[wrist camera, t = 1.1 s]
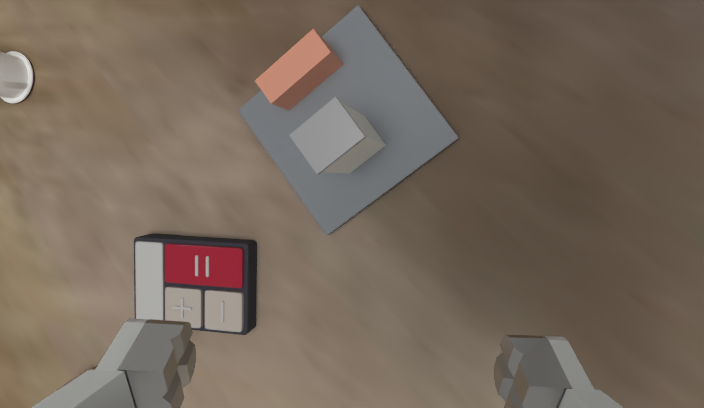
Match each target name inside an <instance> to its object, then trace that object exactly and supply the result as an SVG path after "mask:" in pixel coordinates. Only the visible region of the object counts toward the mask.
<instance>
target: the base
mask: <svg viewBox="0 0 704 408" xmlns="http://www.w3.org/2000/svg"><path fill="white" fill-rule="evenodd" d="M255 82H256V83H257V85H258V86H259V88H260V89H261V91H260V92H258V93H257V94H256V95H255V96H254V97H253V98H252V99H251V100H249V101H248V102H247V103H246V104H245V105H244V106H243V107H241V108H240V109H239V110H238V111H239V113H240V114H241V115H242V117H243V118H244V120H245V121H246V123H247V124H248V125H249V127H250V128H251V130H252V131H253V132H254V134H255V135H256V137H257V138H258V140H259V141H260V142H261V144H262V145H263V147H264V148H265V149H266V151H267V152H268V154H269V155H270V157H271V158H272V159H273V161H274V162H275V164H276V165H277V166H278V168H279V169H280V171H281V172H282V173H283V175H284V176H285V178H286V179H287V181H288V182H289V183H290V185H291V186H292V188H293V189H294V190H295V192H296V193H297V195H298V196H299V198H300V199H301V200H302V202H303V203H304V205H305V206H306V207H307V209H308V210H309V212H310V213H311V215H312V216H313V217H314V219H315V220H316V222H317V223H318V224H319V226H320V227H321V229H322V230H323V231H324V233H325V234H326V236H327V235H329V234H331V233H332V232H334V231H335V230H336V229H338V228H339V227H340V226H342V225H343V224H345V223H346V222H347V221H349V220H350V219H351V218H353V217H354V216H355V215H357V214H358V213H359V212H361V211H362V210H363V209H365V208H366V207H367V206H369V205H370V204H371V203H373V202H374V201H376V200H377V199H378V198H380V197H381V196H382V195H384V194H385V193H386V192H388V191H389V190H390V189H392V188H393V187H394V186H396V185H397V184H398V183H400V182H401V181H402V180H404V179H405V178H407V177H408V176H409V175H411V174H412V173H413V172H415V171H416V170H417V169H419V168H420V167H421V166H423V165H424V164H425V163H427V162H428V161H429V160H431V159H432V158H434V157H435V156H436V155H438V154H439V153H440V152H442V151H443V150H444V149H446V148H447V147H448V146H450V145H451V144H452V143H454V142H455V141H456V140H458V139H459V138H458V136H457V135H456V134H455V132H454V131H453V130H452V128H451V127H450V126H449V124H448V123H447V122H446V120H445V119H444V118H443V116H442V115H441V114H440V112H439V111H438V110H437V109H436V107H435V106H434V105H433V103H432V102H431V101H430V99H429V98H428V97H427V95H426V94H425V93H424V91H423V90H422V89H421V87H420V86H419V85H418V83H417V82H416V81H415V79H414V78H413V77H412V76H411V74H410V73H409V72H408V70H407V69H406V68H405V66H404V65H403V64H402V62H401V61H400V60H399V58H398V57H397V56H396V54H395V53H394V52H393V50H392V49H391V48H390V46H389V45H388V44H387V42H386V41H385V40H384V39H383V37H382V36H381V35H380V33H379V32H378V31H377V29H376V28H375V27H374V25H373V24H372V23H371V21H370V20H369V19H368V17H367V16H366V15H365V13H364V12H363V11H362V9H361V8H360V7H359V6H358V5H357V6H356V7H355V8H354V9H353V10H352V11H351V12H349V13H348V14H347V15H346V16H345V17H344V18H343V19H342V20H340V21H339V22H338V23H337V24H336V25H335V26H334V27H332V28H331V29H330V30H329V31H328V32H327V33H326V34H324V35H323V36H322V37H321V36H320V35H319V34H318V33H317V32H316V31H315V30H314V29H312V30H311V31H310V32H309V33H308V34H307V35H306V36H304V37H303V38H302V39H301V40H300V41H299V42H298V43H297V44H296V45H294V46H293V47H292V48H291V49H290V50H289V51H288V52H287V53H285V54H284V55H283V56H282V57H281V58H280V59H279V60H278V61H276V62H275V63H274V64H273V65H272V66H271V67H270V68H269V69H267V70H266V71H265V72H264V73H263V74H262V75H261V76H260V77H258V78H257V79H256V80H255ZM334 97H337V98H338V99H339V101H341V102H342V103H344V104H345V105H347V106H349V107H350V108H352V109H354V110H355V111H357V112H359V113H360V114H362V115H364V116H365V117H366V119H367V120H368V121H369V123H370V124H371V126H372V127H373V128H374V130H375V131H376V132H377V134H378V135H379V136H380V138H381V139H382V140H383V142H384V143H385V144H386V146H385V147H383V148H382V149H381V150H379V151H378V152H377V153H376V154H374V155H373V156H372V157H370V158H369V159H368V160H366V161H365V162H364V163H363V164H361V165H360V166H359V167H357V168H356V169H355V170H354V171H352V172H351V173H320V174H316V172H315V171H314V169H313V168H312V167H311V165H310V164H309V162H308V161H307V160H306V158H305V157H304V155H303V154H302V153H301V151H300V150H299V148H298V147H297V146H296V144H295V143H294V141H293V140H292V139H291V137H290V136H289V135H290V134H291V133H292V132H294V131H295V130H296V129H297V128H298V127H300V126H301V125H302V124H303V123H304V122H306V121H307V120H308V119H309V118H310V117H312V116H313V115H314V114H315V113H316V112H318V111H319V110H320V109H321V108H322V107H324V106H325V105H326V104H327V103H328V102H330V101H331V100H332V99H333V98H334Z"/></svg>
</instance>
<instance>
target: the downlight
mask: <svg viewBox="0 0 704 408" xmlns="http://www.w3.org/2000/svg"><path fill="white" fill-rule="evenodd" d="M32 84H33V70H32V66H31V64H30V62H29V60H28V59H27V58H26V56H24V55H23V54H21V53H19V52H15V51H11V52H8V53H3V52H0V97H1V98H2V99H3V100H4V101H6V102H8V103H19V102H21V101H22V100H24V99H25V98H26V97H27V96H28V94H29V92H30V90H31V88H32Z"/></svg>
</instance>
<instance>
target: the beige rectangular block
mask: <svg viewBox="0 0 704 408" xmlns="http://www.w3.org/2000/svg"><path fill="white" fill-rule="evenodd" d="M289 136H290V137H291V139H292V140H293V141H294V143H295V144H296V146H297V147H298V148H299V150H300V151H301V153H302V154H303V155H304V157H305V158H306V160H307V161H308V162H309V164H310V165H311V167H312V168H313V169H314V171H315V172H316V174H320V173H351V172H352V171H354V170H355V169H356V168H357V167H359V166H360V165H361V164H363V163H364V162H365V161H366V160H368V159H369V158H370V157H372V156H373V155H374V154H376V153H377V152H378V151H379V150H381V149H382V148H383V147H385V146H386V144H385V143H384V142H383V140H382V139H381V138H380V136H379V135H378V134H377V132H376V131H375V130H374V128H373V127H372V126H371V124H370V123H369V121H368V120H367V119H366V117H365V116H364V115H362V114H360V113H359V112H357V111H355V110H354V109H352V108H350V107H349V106H347V105H345V104H344V103H342V102H341V101H339V99H338V98H337V97H334V98H333V99H332V100H331V101H330V102H328V103H327V104H326V105H325V106H324V107H322V108H321V109H320V110H319V111H318V112H316V113H315V114H314V115H313V116H312V117H310V118H309V119H308V120H307V121H306V122H304V123H303V124H302V125H301V126H300V127H298V128H297V129H296V130H295V131H294V132H292V133H291V134H290V135H289Z"/></svg>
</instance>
